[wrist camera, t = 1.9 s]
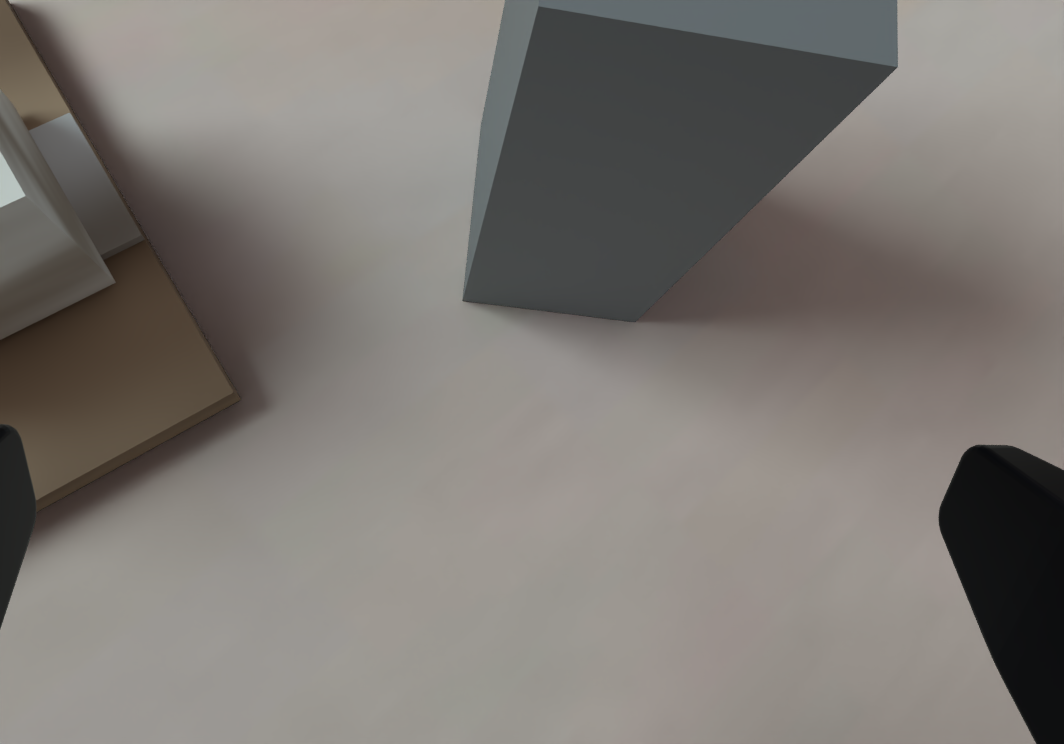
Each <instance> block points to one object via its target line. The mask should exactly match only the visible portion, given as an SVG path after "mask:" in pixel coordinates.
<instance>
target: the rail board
mask: <svg viewBox="0 0 1064 744" xmlns="http://www.w3.org/2000/svg"><path fill="white" fill-rule="evenodd" d="M240 400H241V398H240V397H239V395H238V393H237V391H236V390H235V388H234V386H233V385H232V383H231V381H230V379H229V378H228V376H227V374H226V373H225V371H224V369H223V367H222V366H221V364H220V362H219V361H218V359H217V357H216V355H215V354H214V352H213V350H212V349H211V347H210V345H209V343H208V342H207V340H206V338H205V337H204V335H203V333H202V332H201V330H200V328H199V326H198V325H197V323H196V321H195V320H194V318H193V316H192V314H191V313H190V311H189V309H188V308H187V306H186V304H185V302H184V301H183V299H182V297H181V296H180V294H179V292H178V290H177V289H176V287H175V285H174V284H173V282H172V280H171V278H170V277H169V275H168V273H167V272H166V270H165V268H164V266H163V265H162V263H161V261H160V260H159V258H158V256H157V254H156V253H155V251H154V249H153V248H152V246H151V244H150V242H149V241H148V239H147V237H146V236H145V234H144V232H143V230H142V229H141V227H140V225H139V224H138V222H137V220H136V218H135V217H134V215H133V213H132V212H131V210H130V208H129V206H128V205H127V203H126V201H125V200H124V198H123V196H122V194H121V193H120V191H119V189H118V188H117V186H116V184H115V182H114V181H113V179H112V177H111V176H110V174H109V172H108V170H107V169H106V167H105V165H104V164H103V162H102V160H101V158H100V157H99V155H98V153H97V152H96V150H95V148H94V146H93V145H92V143H91V141H90V140H89V138H88V136H87V134H86V133H85V131H84V129H83V128H82V126H81V124H80V122H79V121H78V119H77V117H76V116H75V114H74V112H73V110H72V109H71V107H70V105H69V104H68V102H67V100H66V98H65V97H64V95H63V93H62V92H61V90H60V88H59V87H58V85H57V83H56V81H55V80H54V78H53V76H52V75H51V73H50V71H49V69H48V68H47V66H46V64H45V63H44V61H43V59H42V57H41V56H40V54H39V52H38V51H37V49H36V47H35V45H34V44H33V42H32V40H31V39H30V37H29V35H28V33H27V32H26V30H25V28H24V27H23V25H22V23H21V21H20V20H19V18H18V16H17V15H16V13H15V11H14V9H13V8H12V6H11V4H10V3H9V1H8V0H0V424H8V425H10V426H12V427H13V428H15V429H16V430H17V431H18V433H19V435H20V437H21V439H22V443H23V447H24V451H25V455H26V459H27V464H28V468H29V472H30V476H31V480H32V484H33V489H34V493H35V497H36V508H37V509H36V512H38V511H40V510H41V509H43V508H45V507H47V506H49V505H51V504H52V503H54V502H56V501H58V500H60V499H61V498H63V497H65V496H67V495H69V494H71V493H72V492H74V491H76V490H78V489H80V488H81V487H83V486H85V485H87V484H89V483H91V482H92V481H94V480H96V479H98V478H100V477H102V476H103V475H105V474H107V473H109V472H111V471H112V470H114V469H116V468H118V467H120V466H122V465H123V464H125V463H127V462H129V461H131V460H132V459H134V458H136V457H138V456H140V455H142V454H143V453H145V452H147V451H149V450H151V449H152V448H154V447H156V446H158V445H160V444H162V443H163V442H165V441H167V440H169V439H171V438H172V437H174V436H176V435H178V434H180V433H182V432H183V431H185V430H187V429H189V428H191V427H192V426H194V425H196V424H198V423H200V422H202V421H203V420H205V419H207V418H209V417H211V416H212V415H214V414H216V413H218V412H220V411H222V410H223V409H225V408H227V407H229V406H231V405H232V404H234V403H236V402H238V401H240Z"/></svg>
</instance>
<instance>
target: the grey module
mask: <svg viewBox="0 0 1064 744" xmlns="http://www.w3.org/2000/svg"><path fill="white" fill-rule="evenodd" d="M897 67H898V44H897V0H505V4H504V9H503V14H502V19H501V25H500V30H499V35H498V40H497V45H496V50H495V55H494V61H493V66H492V71H491V76H490V81H489V86H488V91H487V97H486V102H485V107H484V112H483V117H482V122H481V130H480V139H479V149H478V158H477V168H476V177H475V187H474V197H473V206H472V216H471V225H470V235H469V244H468V254H467V263H466V273H465V282H464V292H463V301H469V302H477V303H485V304H493V305H501V306H509V307H517V308H525V309H533V310H541V311H550V312H558V313H566V314H574V315H582V316H590V317H598V318H606V319H614V320H622V321H630V322H636V321H637V320H638V319H639V318H640V317H641V316H642V315H643V314H644V313H645V312H646V311H647V310H648V309H649V308H650V307H651V306H652V305H653V304H654V303H655V302H656V301H657V300H658V299H659V298H661V297H662V296H663V295H664V294H665V293H666V292H667V291H668V290H669V289H670V288H671V287H672V286H673V285H674V284H675V283H676V282H677V281H678V280H679V279H680V278H681V277H682V276H683V275H684V274H685V273H686V272H687V271H688V270H689V269H690V268H691V267H692V266H693V265H694V264H696V263H697V262H698V261H699V260H700V259H701V258H702V257H703V256H704V255H705V254H706V253H707V252H708V251H709V250H710V249H711V248H712V247H713V246H714V245H715V244H716V243H717V242H718V241H719V240H720V239H721V238H722V237H723V236H724V235H725V234H726V233H727V232H728V231H729V230H731V229H732V228H733V227H734V226H735V225H736V224H737V223H738V222H739V221H740V220H741V219H742V218H743V217H744V216H745V215H746V214H747V213H748V212H749V211H750V210H751V209H752V208H753V207H754V206H755V205H756V204H757V203H758V202H759V201H760V200H761V199H762V198H763V197H764V196H766V195H767V194H768V193H769V192H770V191H771V190H772V189H773V188H774V187H775V186H776V185H777V184H778V183H779V182H780V181H781V180H782V179H783V178H784V177H785V176H786V175H787V174H788V173H789V172H790V171H791V170H792V169H793V168H794V167H795V166H796V165H797V164H798V163H799V162H801V161H802V160H803V159H804V158H805V157H806V156H807V155H808V154H809V153H810V152H811V151H812V150H813V149H814V148H815V147H816V146H817V145H818V144H819V143H820V142H821V141H822V140H823V139H824V138H825V137H826V136H827V135H828V134H829V133H830V132H831V131H832V130H833V129H834V128H836V127H837V126H838V125H839V124H840V123H841V122H842V121H843V120H844V119H845V118H846V117H847V116H848V115H849V114H850V113H851V112H852V111H853V110H854V109H855V108H856V107H857V106H858V105H859V104H860V103H861V102H862V101H863V100H864V99H865V98H866V97H867V96H868V95H869V94H871V93H872V92H873V91H874V90H875V89H876V88H877V87H878V86H879V85H880V84H881V83H882V82H883V81H884V80H885V79H886V78H887V77H888V76H889V75H890V74H891V73H892V72H893V71H894V70H895V69H896V68H897Z"/></svg>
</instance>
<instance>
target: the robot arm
mask: <svg viewBox="0 0 1064 744" xmlns="http://www.w3.org/2000/svg"><path fill="white" fill-rule="evenodd" d="M36 509H37V508H36V497H35V493H34V489H33V484H32V480H31V476H30V472H29V468H28V464H27V459H26V455H25V451H24V447H23V443H22V439H21V437H20V435H19V433H18V431H17V430H16V429H15V428H13V427H12V426H10V425H8V424H0V629H1V626H2V622H3V619H4V616H5V613H6V610H7V607H8V604H9V601H10V598H11V595H12V592H13V589H14V586H15V583H16V580H17V577H18V574H19V571H20V568H21V565H22V562H23V558H24V555H25V552H26V549H27V546H28V543H29V540H30V537H31V534H32V531H33V528H34V524H35V519H36ZM939 526H940V531H941V534H942V536H943V539H944V541H945V544H946V546H947V549H948V551H949V554H950V556H951V559H952V561H953V564H954V566H955V568H956V571H957V573H958V576H959V578H960V581H961V583H962V586H963V588H964V591H965V593H966V596H967V598H968V601H969V603H970V605H971V608H972V610H973V613H974V615H975V618H976V620H977V623H978V625H979V628H980V630H981V633H982V635H983V638H984V640H985V642H986V645H987V647H988V649H989V651H990V654H991V656H992V658H993V661H994V663H995V665H996V667H997V669H998V671H999V673H1000V675H1001V677H1002V679H1003V681H1004V683H1005V685H1006V687H1007V689H1008V691H1009V693H1010V695H1011V697H1012V698H1013V700H1014V702H1015V704H1016V706H1017V708H1018V710H1019V712H1020V714H1021V716H1022V717H1023V719H1024V721H1025V723H1026V725H1027V727H1028V729H1029V731H1030V733H1031V735H1032V737H1033V738H1034V740H1035V742H1036V744H1064V470H1062V469H1060V468H1058V467H1056V466H1054V465H1052V464H1050V463H1048V462H1046V461H1044V460H1042V459H1040V458H1038V457H1035V456H1033V455H1031V454H1029V453H1027V452H1025V451H1023V450H1021V449H1019V448H1016V447H1013V446H1008V445H975V446H973V447H970V448H969V449H968V450H967V451H966V452H965V453H964V454H963V456H962V458H961V460H960V462H959V464H958V467H957V469H956V471H955V473H954V476H953V478H952V480H951V483H950V485H949V487H948V489H947V492H946V494H945V496H944V499H943V501H942V503H941V506H940V510H939Z"/></svg>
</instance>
